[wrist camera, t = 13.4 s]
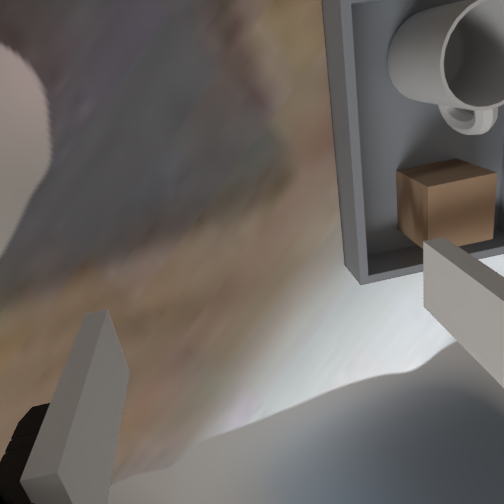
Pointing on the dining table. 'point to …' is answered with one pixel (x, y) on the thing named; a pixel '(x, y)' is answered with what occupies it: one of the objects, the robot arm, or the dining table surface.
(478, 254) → the gray tray
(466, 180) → the walnut block
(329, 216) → the dining table surface
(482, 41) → the cup
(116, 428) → the robot arm
